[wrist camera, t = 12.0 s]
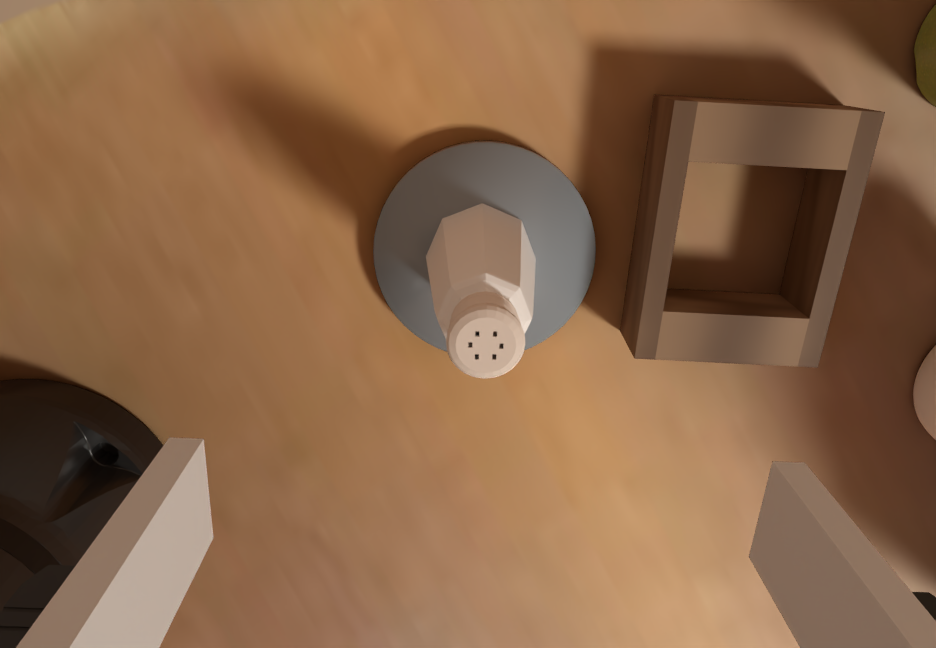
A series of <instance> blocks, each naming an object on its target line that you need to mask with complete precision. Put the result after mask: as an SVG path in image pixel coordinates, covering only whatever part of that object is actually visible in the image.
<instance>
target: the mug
mask: <svg viewBox="0 0 936 648" xmlns="http://www.w3.org/2000/svg"><path fill="white" fill-rule="evenodd" d="M913 400H914V407H915V411H916V414H917V416H918V419H919V421H920V422H921V424H922V425H923V427H924V428H925V429H926V431H927V432H928V433H929V434H930V435H931V436H932V437H933V438H934V439H935V440H936V345H935V346H934V347H933V349H932V350H931V351H930V352H929V353H928V355H927V356H926V358H925V359H924V361H923V363H922V365H921V366H920V368H919V371H918V373H917V376H916V379H915V383H914V390H913Z"/></svg>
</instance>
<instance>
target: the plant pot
mask: <svg viewBox="0 0 936 648" xmlns="http://www.w3.org/2000/svg"><path fill="white" fill-rule="evenodd" d="M914 55H915V61H916V73H917V85H918V87H919V89H920V91H921V93H922V94H923V95H924V97H925V98H926V99H927V100H928V101H929V102H930V103H931V104H932V105H934V106H935V107H936V4H935V5H934V7H933V8H932V9H931V11H930V12H929V14H928V15H927V17H926V18H925V20H924V22H923V24H922V26H921V28H920V30H919V33H918V35H917V38H916V42H915V47H914Z"/></svg>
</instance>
